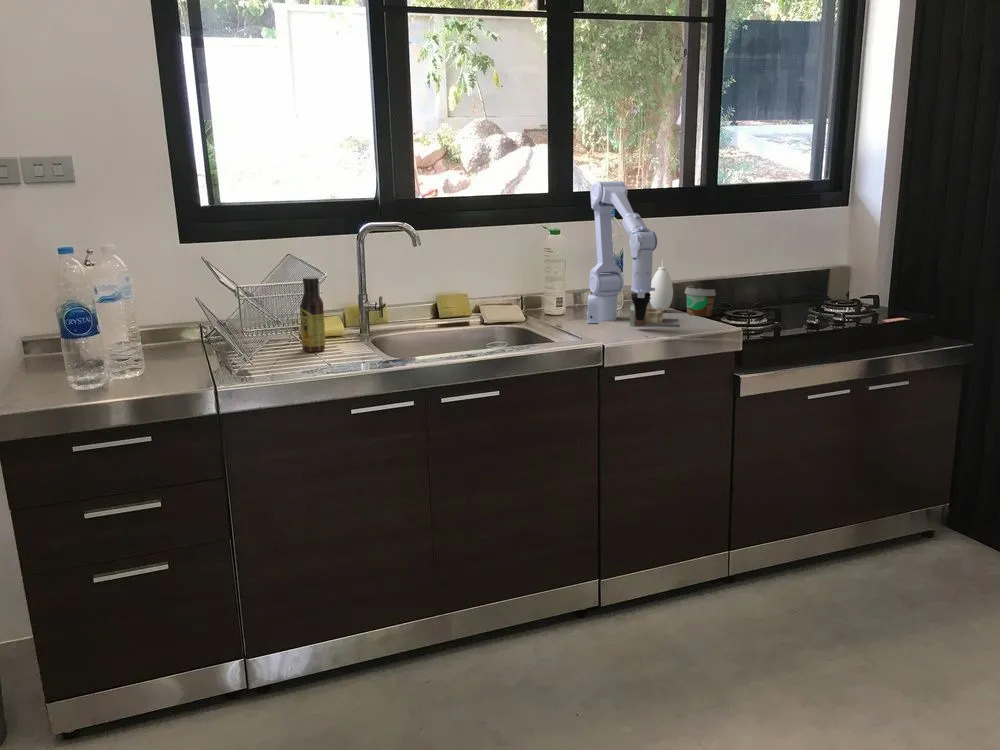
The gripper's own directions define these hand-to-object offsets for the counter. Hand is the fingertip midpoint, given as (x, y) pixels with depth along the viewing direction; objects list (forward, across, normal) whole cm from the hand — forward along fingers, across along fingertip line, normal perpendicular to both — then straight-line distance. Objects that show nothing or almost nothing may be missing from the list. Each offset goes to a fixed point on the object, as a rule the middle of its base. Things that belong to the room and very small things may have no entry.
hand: (640, 318), depth 247 cm
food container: (+5, +31, -18) cm, 36 cm away
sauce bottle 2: (+5, +41, -7) cm, 42 cm away
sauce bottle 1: (+5, -39, +87) cm, 95 cm away
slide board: (+4, +12, -5) cm, 14 cm away
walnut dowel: (+2, 0, 0) cm, 2 cm away
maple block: (+3, +12, -3) cm, 13 cm away
